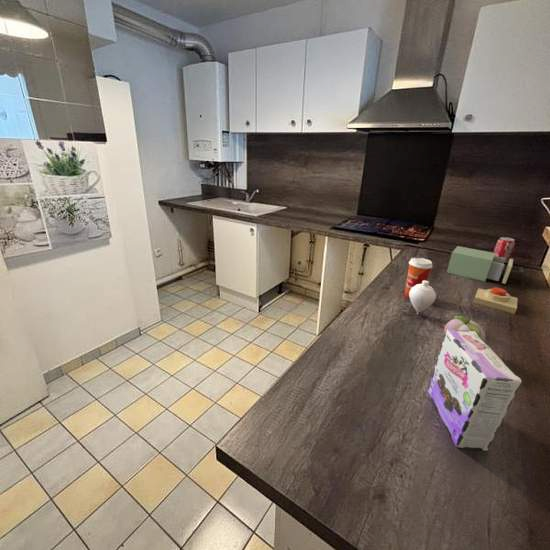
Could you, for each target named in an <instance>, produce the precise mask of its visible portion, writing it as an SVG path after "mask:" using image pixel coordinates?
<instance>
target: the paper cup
mask: <svg viewBox="0 0 550 550" xmlns="http://www.w3.org/2000/svg"><path fill="white" fill-rule="evenodd" d="M433 267H434V266H433V262H432V261H431V260H430V259H427V258H423V257H411V258H410V260H409V261H408V270H407V276H406V282H405V290H404V296H405V297H406V298H407V299H410V297H409V292H410V290H411V288H412V287H414V286H415V285H417V284H422V281H424V280H425V281H428V278H429V275H430V272H431V270H432V268H433Z"/></svg>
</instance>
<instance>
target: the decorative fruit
mask: <svg viewBox="0 0 550 550" xmlns="http://www.w3.org/2000/svg"><path fill="white" fill-rule="evenodd" d="M446 330H462V331H475V332H476V333H477V334H478V336H479V337H480V338H481V339H482V340H483V341H484V342H485V341H486V333H485V330H484V329H483V328H482V326H481V325H480V324H478V323H477V322H475V321H474V320H471V318H470V317H469V318H467V317H464V316H463V315H462V316H461V315H455V316H453V319H451V320H449V321H448V322H447V323H446V324H445V325H444V329H443V331H444V334H445V333H446Z"/></svg>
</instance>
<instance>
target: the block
mask: <svg viewBox="0 0 550 550" xmlns="http://www.w3.org/2000/svg"><path fill="white" fill-rule="evenodd" d="M491 291H492V288H488V289H487V288H486V289H483V288H479V287H478V288H477V291H476V294H475V296H474V299H473V302H472V303H473V304H477V305H481V306H484V307H488V308H491V309H495V310H497V311H498V310H499V311H502V312H506V313H510V314H513V315H515V314H516V312H517V310H518V301H519V299H518V297H515V296H511V295H510V293H508V292H506V294H505V296H498V295H495V294H493V293H491Z"/></svg>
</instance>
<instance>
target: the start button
mask: <svg viewBox="0 0 550 550" xmlns="http://www.w3.org/2000/svg"><path fill="white" fill-rule="evenodd" d="M491 289H492V291H491V293H493V294H495V295H498V296H505V294H506V293H507V290H505V289H504V288H501V287H497V286H496V287H495V286H494V287H492V288H491Z"/></svg>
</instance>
